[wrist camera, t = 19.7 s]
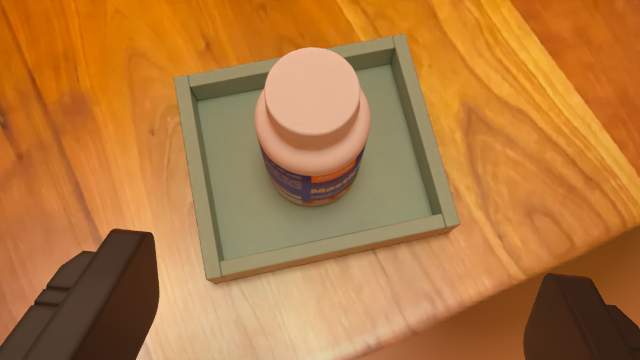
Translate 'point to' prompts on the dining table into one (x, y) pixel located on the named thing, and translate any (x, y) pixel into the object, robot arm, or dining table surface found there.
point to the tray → (299, 220)
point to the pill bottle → (312, 126)
